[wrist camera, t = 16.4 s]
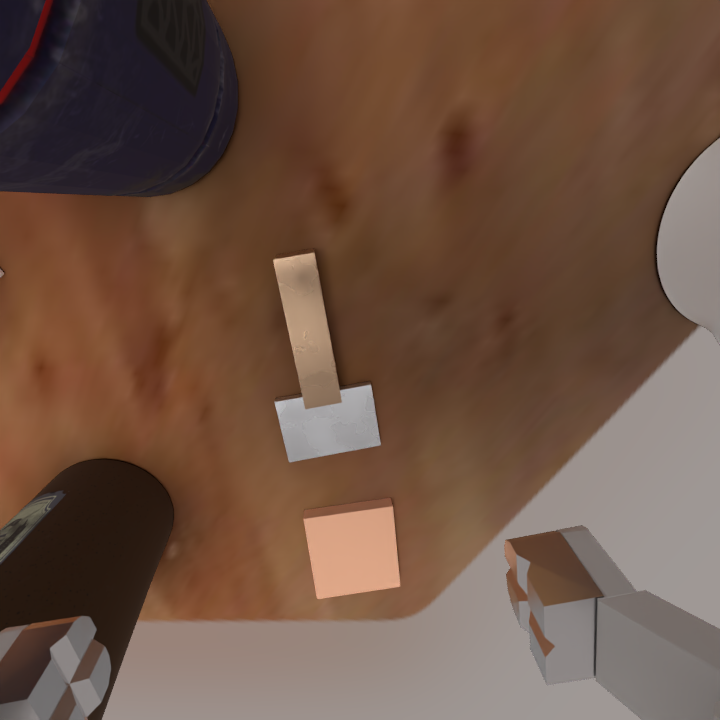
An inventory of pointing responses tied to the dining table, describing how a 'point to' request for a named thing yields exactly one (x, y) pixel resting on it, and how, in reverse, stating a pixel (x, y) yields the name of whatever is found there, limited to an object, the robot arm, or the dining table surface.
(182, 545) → the dining table surface
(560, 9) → the dining table surface
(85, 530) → the olive oil
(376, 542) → the tile
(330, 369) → the turner
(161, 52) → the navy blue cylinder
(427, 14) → the dining table surface
